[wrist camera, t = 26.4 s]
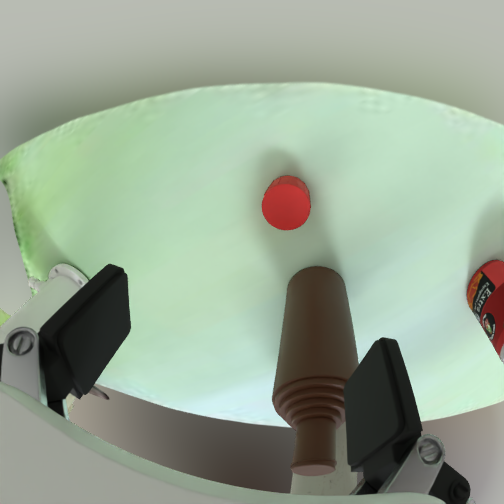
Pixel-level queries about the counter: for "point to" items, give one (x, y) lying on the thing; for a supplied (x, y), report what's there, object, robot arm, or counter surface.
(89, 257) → the counter surface
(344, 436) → the thermos bottle
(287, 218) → the cap
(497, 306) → the canned food
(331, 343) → the bottle
